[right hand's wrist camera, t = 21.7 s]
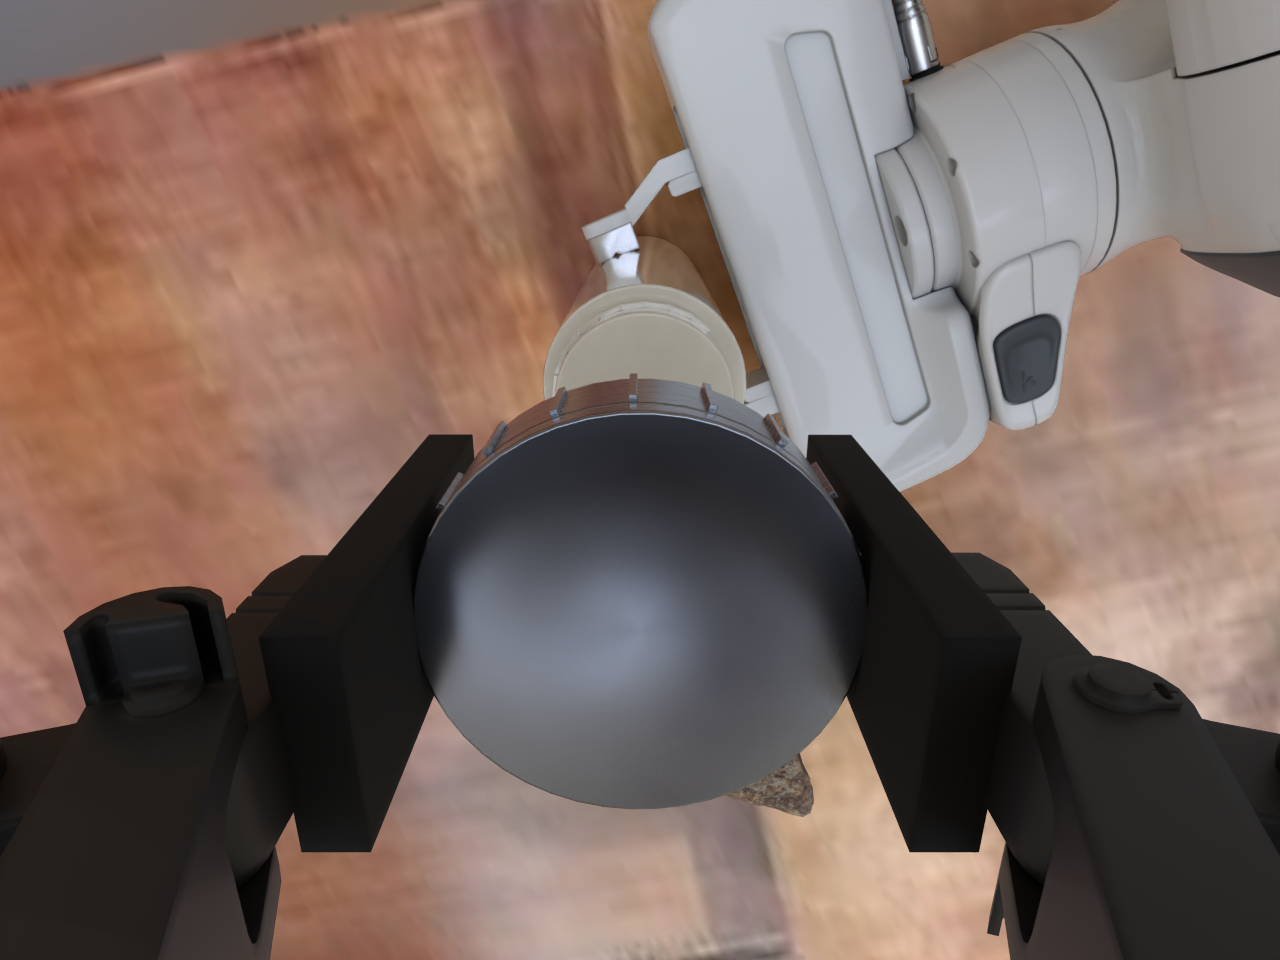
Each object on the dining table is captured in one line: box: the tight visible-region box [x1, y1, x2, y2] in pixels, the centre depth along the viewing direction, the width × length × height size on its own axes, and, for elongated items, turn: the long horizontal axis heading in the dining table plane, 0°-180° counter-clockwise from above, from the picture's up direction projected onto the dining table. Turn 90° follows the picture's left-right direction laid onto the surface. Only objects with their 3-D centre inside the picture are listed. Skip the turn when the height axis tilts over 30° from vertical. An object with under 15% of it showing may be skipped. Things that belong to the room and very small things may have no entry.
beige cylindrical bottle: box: [543, 236, 746, 405], centre depth 28 cm, size 5×5×19 cm
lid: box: [412, 373, 868, 809], centre depth 11 cm, size 6×6×2 cm
